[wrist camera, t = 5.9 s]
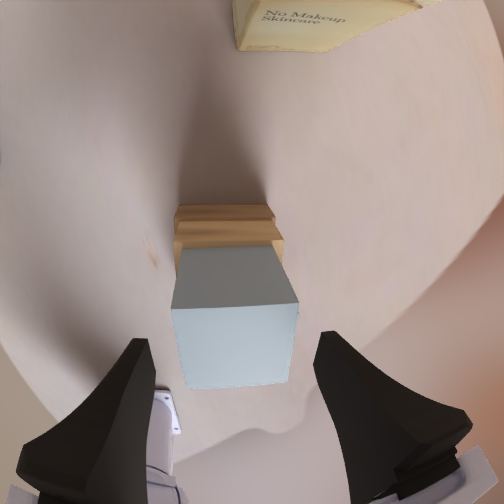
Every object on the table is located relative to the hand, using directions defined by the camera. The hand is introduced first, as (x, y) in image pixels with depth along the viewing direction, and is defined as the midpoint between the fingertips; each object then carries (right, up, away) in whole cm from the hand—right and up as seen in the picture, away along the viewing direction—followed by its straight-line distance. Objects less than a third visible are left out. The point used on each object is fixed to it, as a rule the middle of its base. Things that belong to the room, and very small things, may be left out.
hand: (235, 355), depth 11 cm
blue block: (-1, +2, +4) cm, 5 cm away
